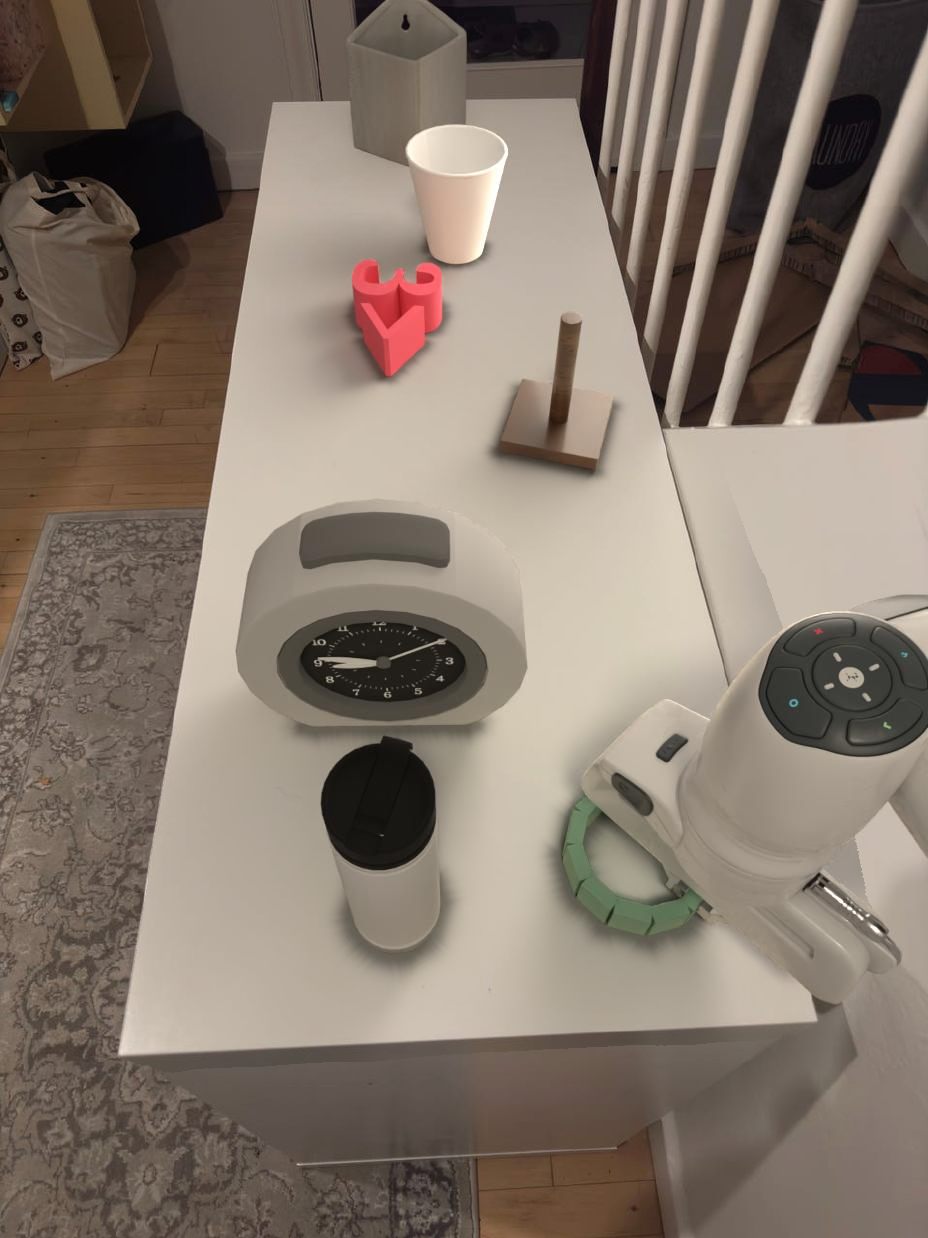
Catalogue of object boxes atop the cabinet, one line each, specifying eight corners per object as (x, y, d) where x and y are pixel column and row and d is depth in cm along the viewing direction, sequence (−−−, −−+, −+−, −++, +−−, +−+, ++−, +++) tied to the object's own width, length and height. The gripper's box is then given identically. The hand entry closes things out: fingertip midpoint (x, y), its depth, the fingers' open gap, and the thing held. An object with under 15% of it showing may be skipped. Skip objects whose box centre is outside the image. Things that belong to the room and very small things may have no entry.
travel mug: (452, 875, 64) (453, 750, 47) (424, 966, 60) (414, 864, 44) (372, 851, 65) (345, 721, 48) (340, 939, 61) (299, 830, 45)
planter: (360, 173, 121) (346, 13, 105) (353, 145, 125) (339, -13, 109) (475, 163, 123) (479, 4, 107) (464, 135, 127) (466, -21, 111)
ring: (716, 811, 67) (727, 795, 64) (701, 952, 61) (712, 940, 58) (578, 777, 68) (583, 760, 66) (550, 911, 62) (554, 897, 60)
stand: (612, 406, 93) (633, 295, 82) (595, 470, 88) (616, 360, 77) (521, 389, 95) (530, 277, 84) (499, 451, 89) (506, 340, 78)
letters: (432, 379, 96) (431, 340, 92) (341, 373, 96) (336, 335, 92) (444, 301, 104) (444, 263, 100) (359, 296, 104) (356, 258, 100)
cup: (451, 287, 105) (451, 186, 95) (390, 245, 111) (384, 145, 100) (522, 251, 110) (529, 151, 100) (460, 212, 115) (461, 113, 105)
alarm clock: (258, 727, 71) (200, 576, 54) (268, 650, 75) (217, 488, 59) (520, 723, 71) (540, 573, 55) (515, 647, 75) (532, 486, 59)
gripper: (943, 912, 47) (848, 975, 58) (644, 681, 55) (612, 775, 67) (884, 1000, 44) (796, 1048, 56) (579, 744, 53) (557, 830, 64)
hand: (694, 897), depth 61 cm, fingers closed on ring
